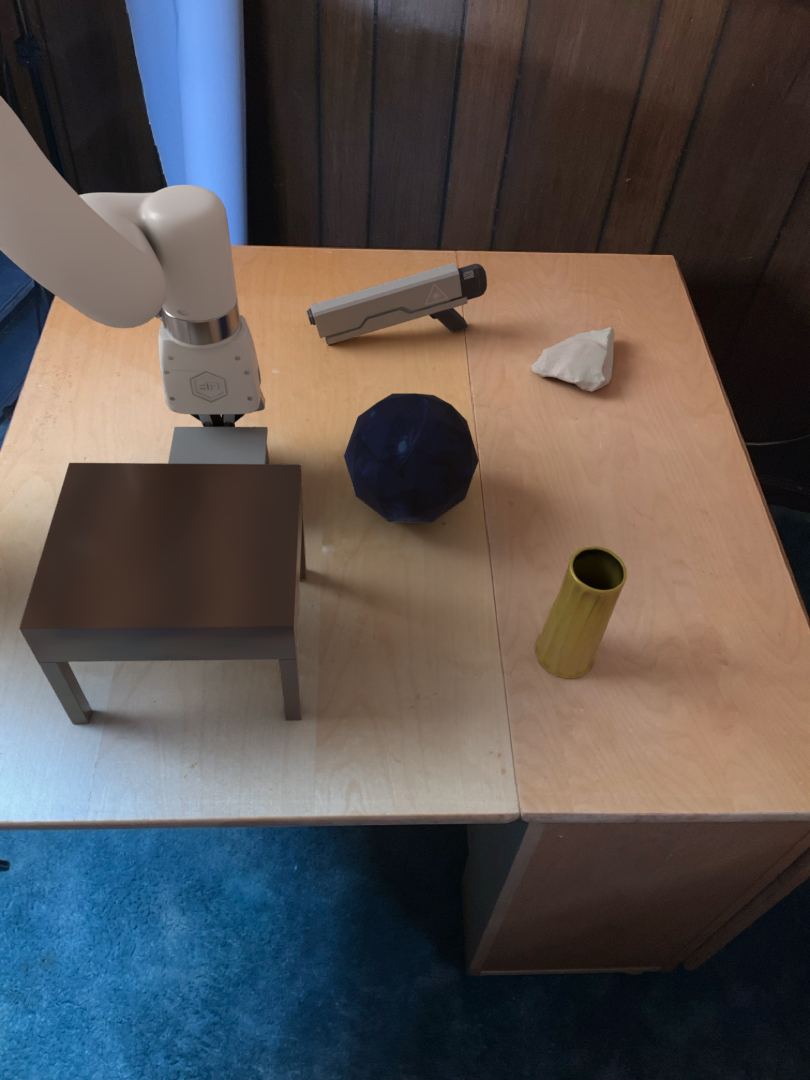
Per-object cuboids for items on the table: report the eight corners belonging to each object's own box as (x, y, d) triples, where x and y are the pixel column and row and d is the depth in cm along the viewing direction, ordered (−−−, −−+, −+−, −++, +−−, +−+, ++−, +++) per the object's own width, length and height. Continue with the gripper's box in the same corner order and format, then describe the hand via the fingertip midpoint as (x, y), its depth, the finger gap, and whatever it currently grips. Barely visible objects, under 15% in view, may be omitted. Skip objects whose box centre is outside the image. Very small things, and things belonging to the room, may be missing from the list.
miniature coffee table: (72, 724, 74) (18, 628, 62) (111, 556, 87) (72, 449, 74) (301, 720, 76) (293, 626, 64) (307, 556, 88) (301, 451, 76)
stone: (528, 348, 108) (582, 302, 116) (522, 373, 111) (575, 326, 119) (597, 382, 104) (648, 332, 112) (589, 407, 107) (639, 356, 115)
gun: (492, 322, 116) (487, 263, 108) (325, 372, 115) (307, 316, 107) (487, 312, 117) (481, 252, 109) (322, 361, 117) (304, 305, 109)
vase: (584, 625, 85) (620, 539, 74) (601, 676, 81) (642, 593, 70) (528, 630, 84) (556, 544, 73) (542, 682, 80) (574, 599, 69)
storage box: (174, 519, 91) (164, 480, 86) (183, 466, 96) (174, 426, 91) (268, 519, 91) (263, 479, 87) (271, 466, 97) (267, 426, 92)
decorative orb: (363, 547, 83) (448, 434, 77) (298, 456, 91) (372, 347, 85) (447, 558, 94) (528, 460, 88) (383, 476, 101) (453, 380, 96)
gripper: (120, 337, 79) (156, 468, 93) (274, 338, 80) (286, 467, 94) (132, 292, 83) (164, 424, 98) (277, 293, 85) (288, 423, 99)
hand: (224, 445), depth 96 cm, fingers closed
